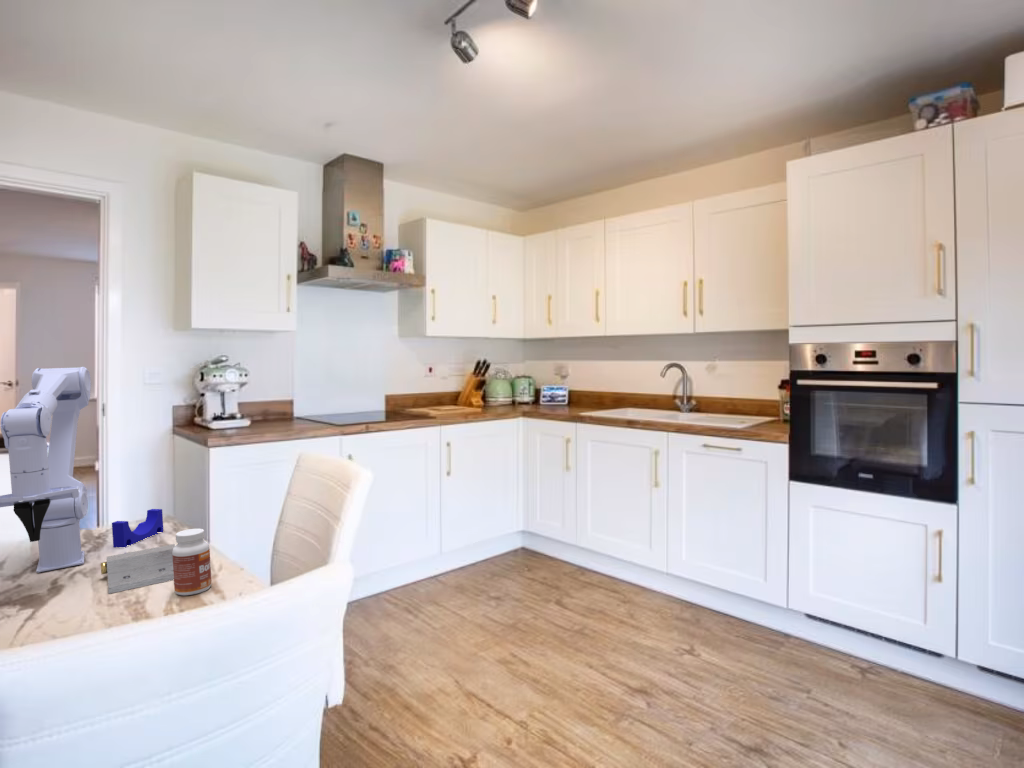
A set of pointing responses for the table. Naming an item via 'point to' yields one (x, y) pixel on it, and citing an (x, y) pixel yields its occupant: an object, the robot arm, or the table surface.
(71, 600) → the table surface
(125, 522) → the blue u-shaped cradle block
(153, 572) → the steel hinge
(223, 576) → the table surface
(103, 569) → the brass headed pin
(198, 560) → the pill bottle
